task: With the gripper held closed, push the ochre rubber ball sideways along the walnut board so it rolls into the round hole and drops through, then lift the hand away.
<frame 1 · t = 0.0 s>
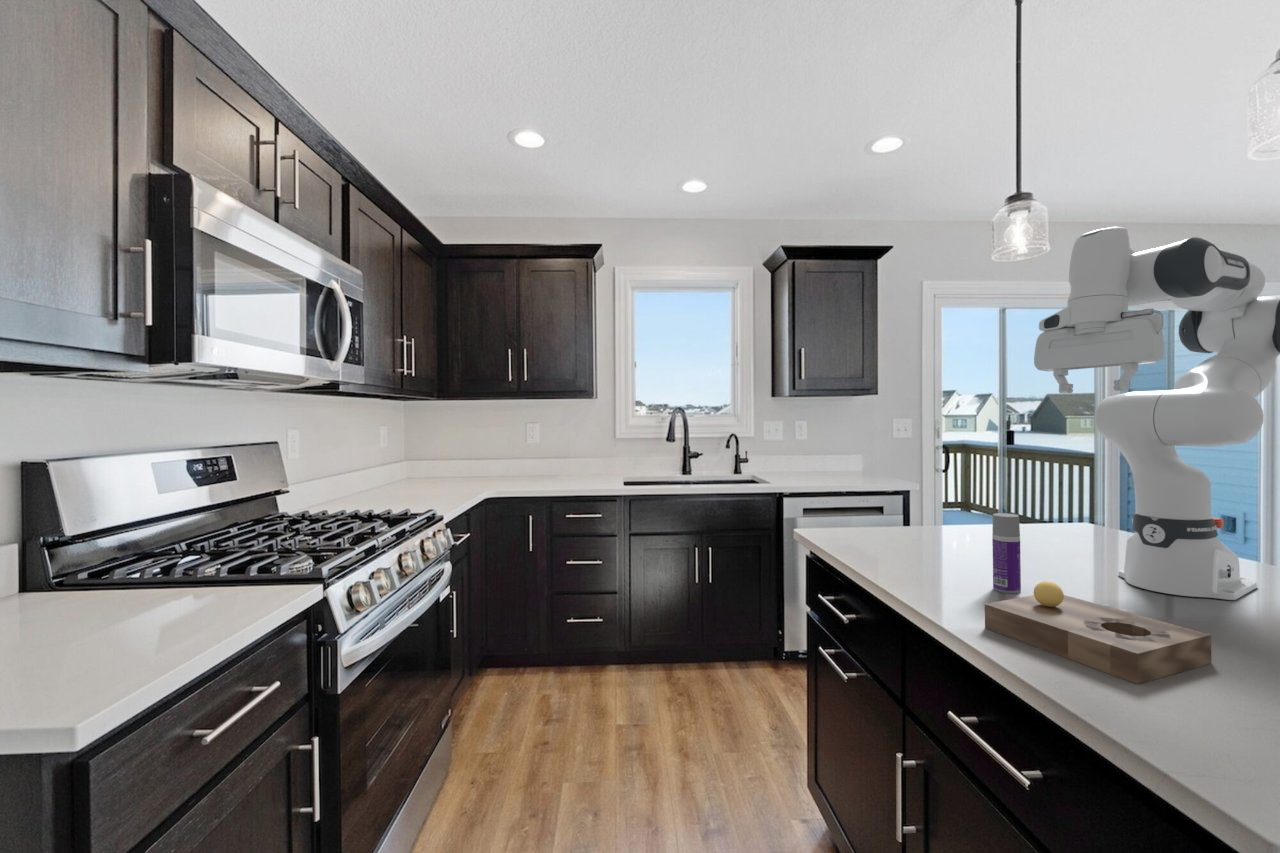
hand: (1092, 391, 107), 39 cm above the worktop, fingers open, 8 cm apart
container: (1006, 591, 116), on the worktop
board: (1088, 644, 89), on the worktop
ball: (1048, 594, 94), point 6 cm above the worktop, touching board
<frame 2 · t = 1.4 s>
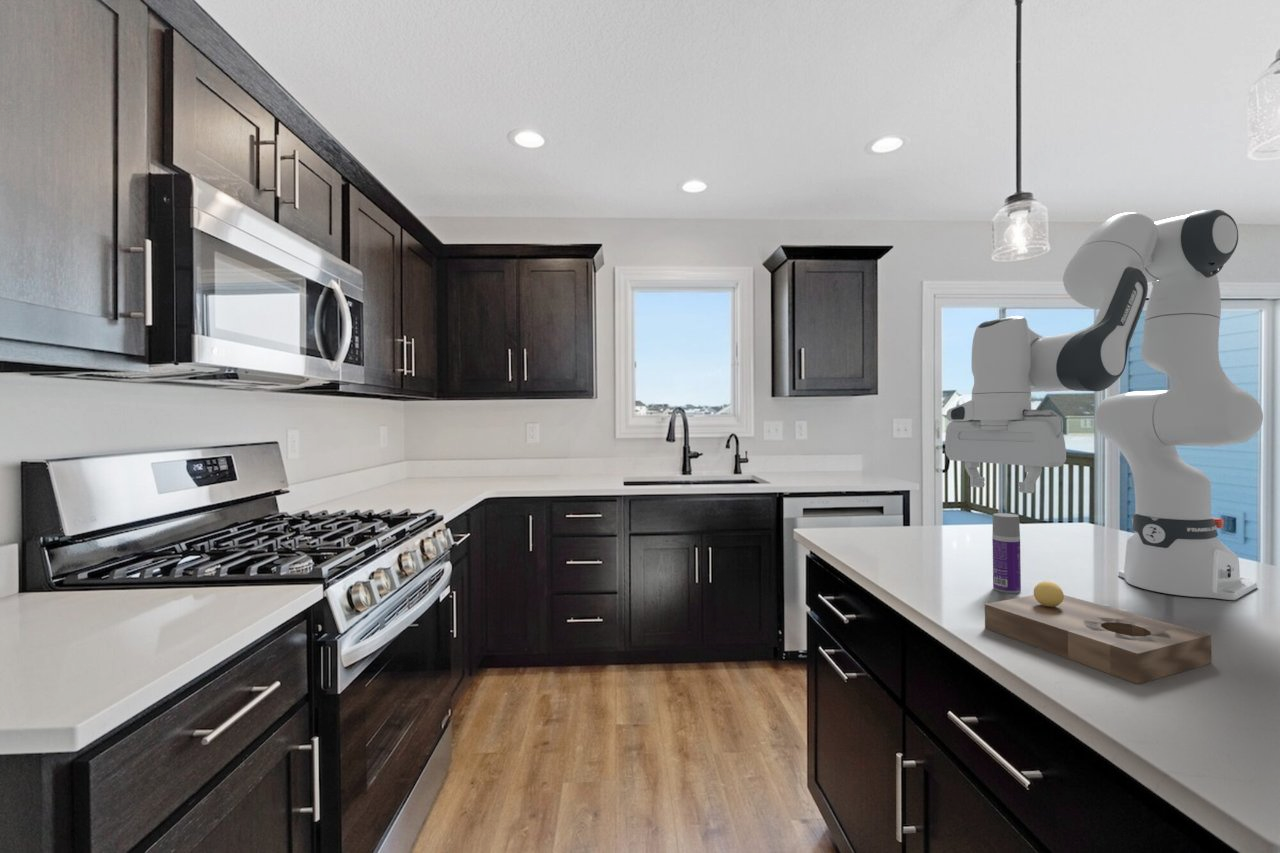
hand: (1001, 489, 101), 22 cm above the worktop, fingers open, 8 cm apart
nothing on the worktop moved.
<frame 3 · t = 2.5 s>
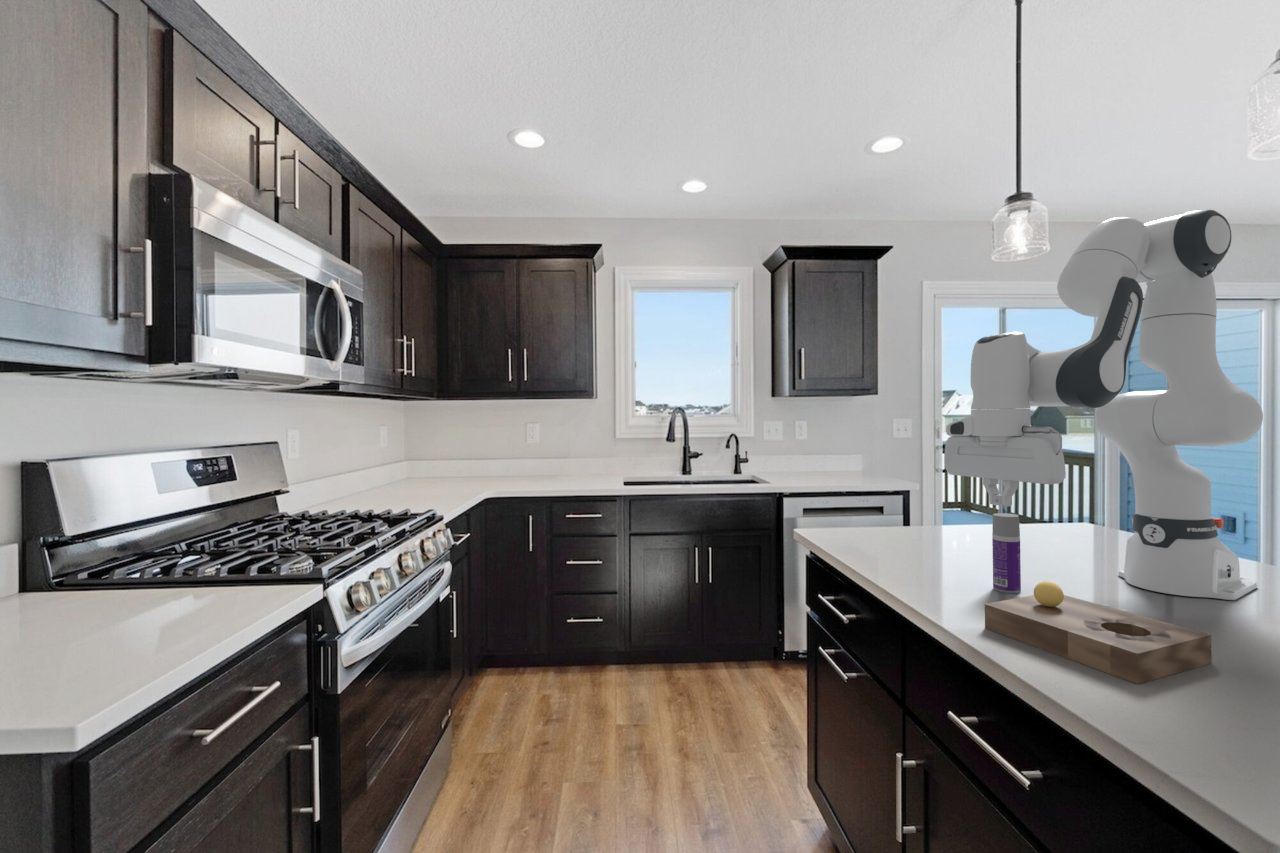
hand: (1000, 505, 101), 19 cm above the worktop, fingers closed
nothing on the worktop moved.
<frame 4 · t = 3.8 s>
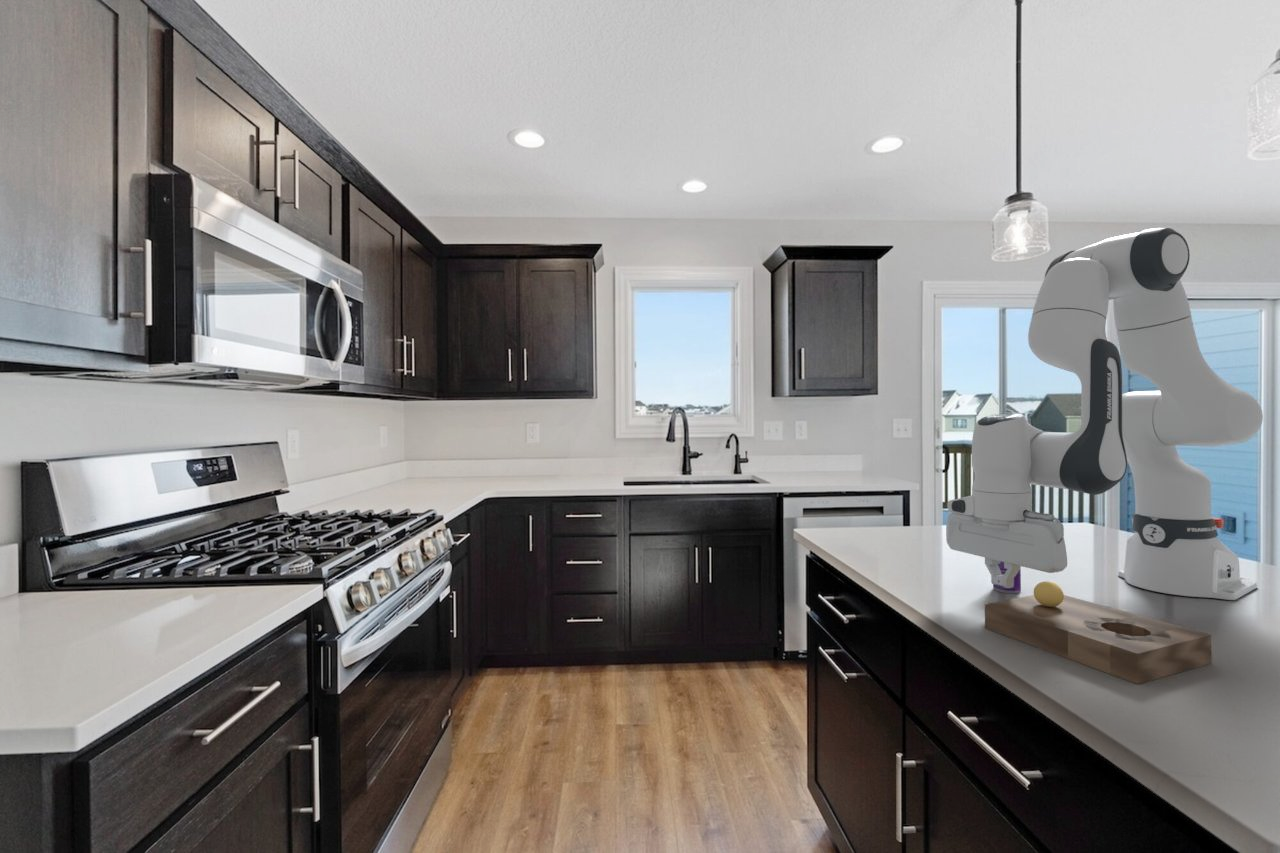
hand: (1002, 585, 102), 5 cm above the worktop, fingers closed
nothing on the worktop moved.
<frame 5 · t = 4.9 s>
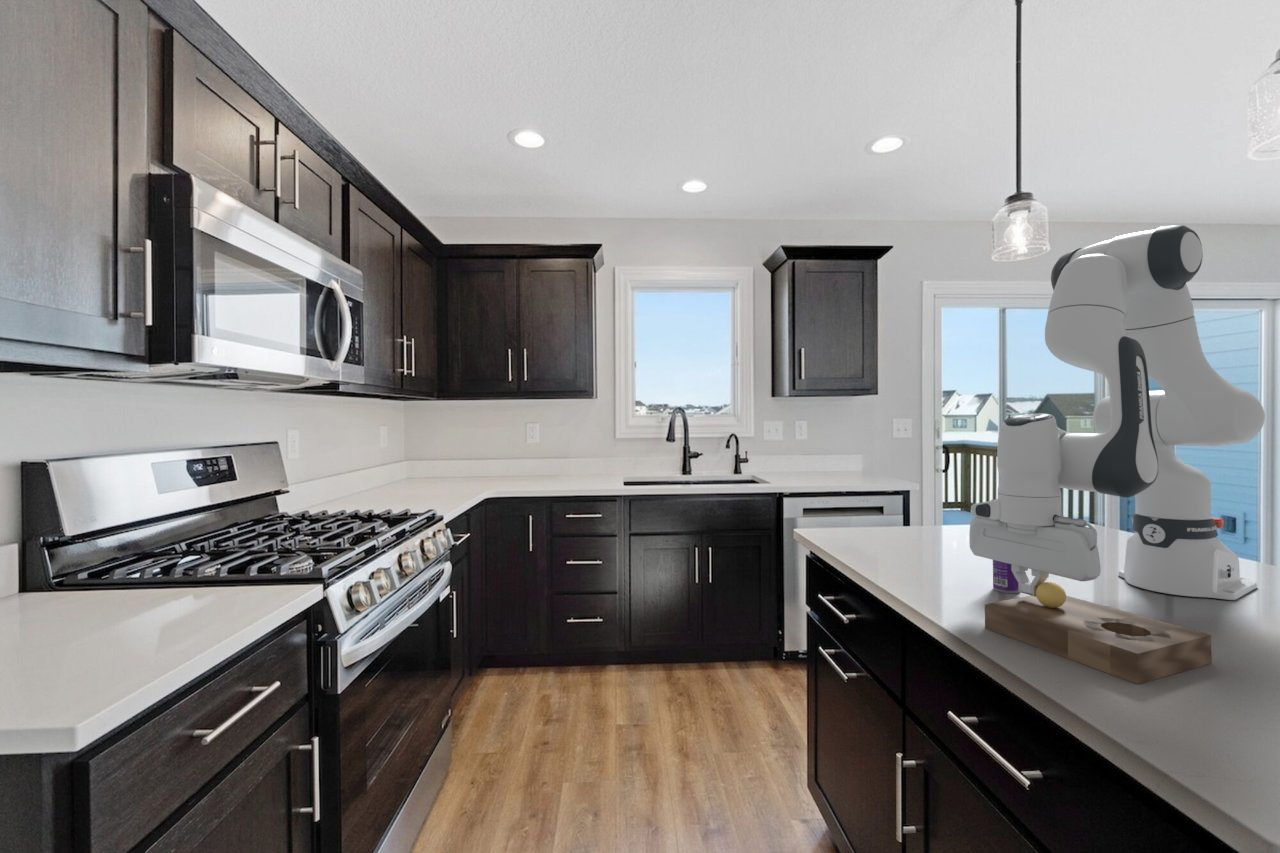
hand: (1030, 594, 97), 5 cm above the worktop, fingers closed
ball: (1050, 594, 94), point 6 cm above the worktop, tilted 11°, touching board, gripper
everything else where it was.
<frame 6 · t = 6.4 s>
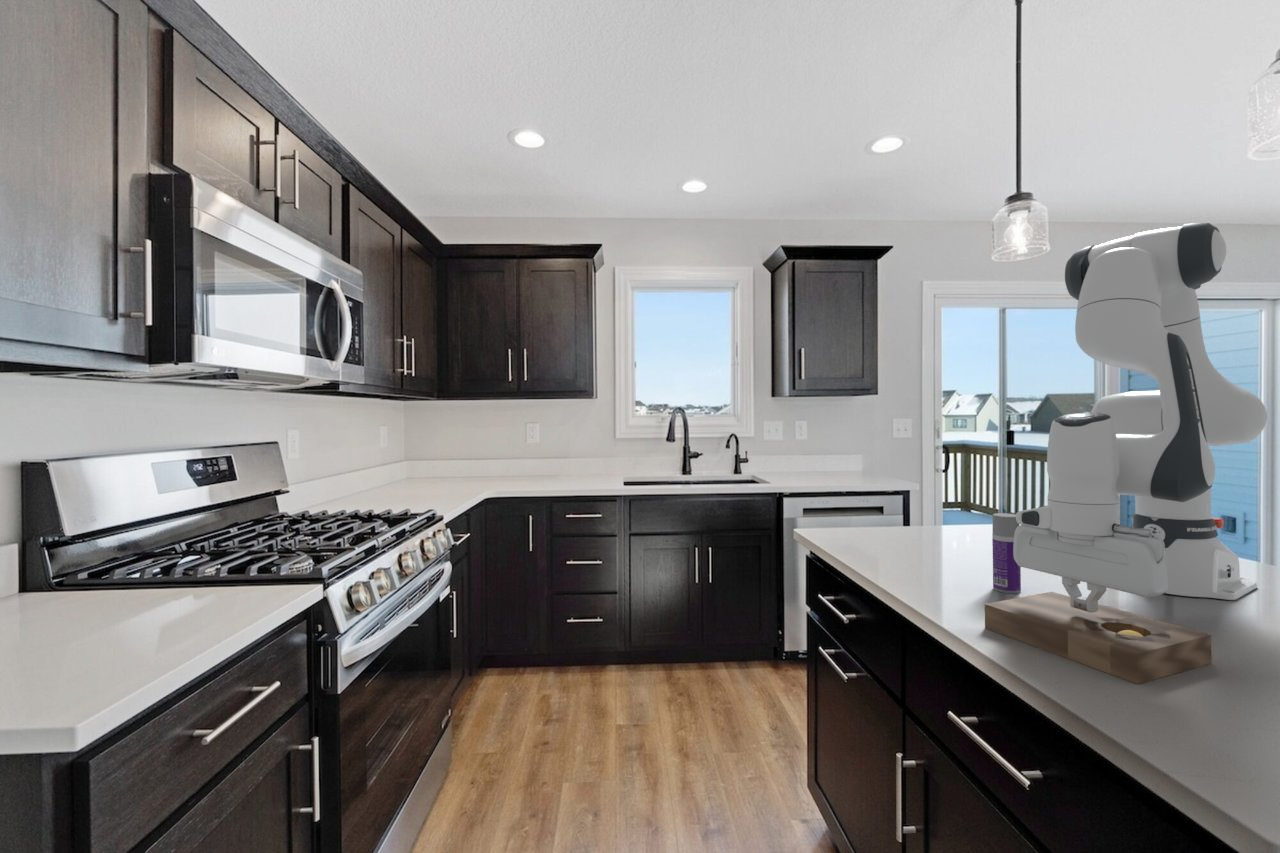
hand: (1084, 609, 89), 5 cm above the worktop, fingers closed
ball: (1131, 644, 83), point 2 cm above the worktop, tilted 54°
everything else where it was.
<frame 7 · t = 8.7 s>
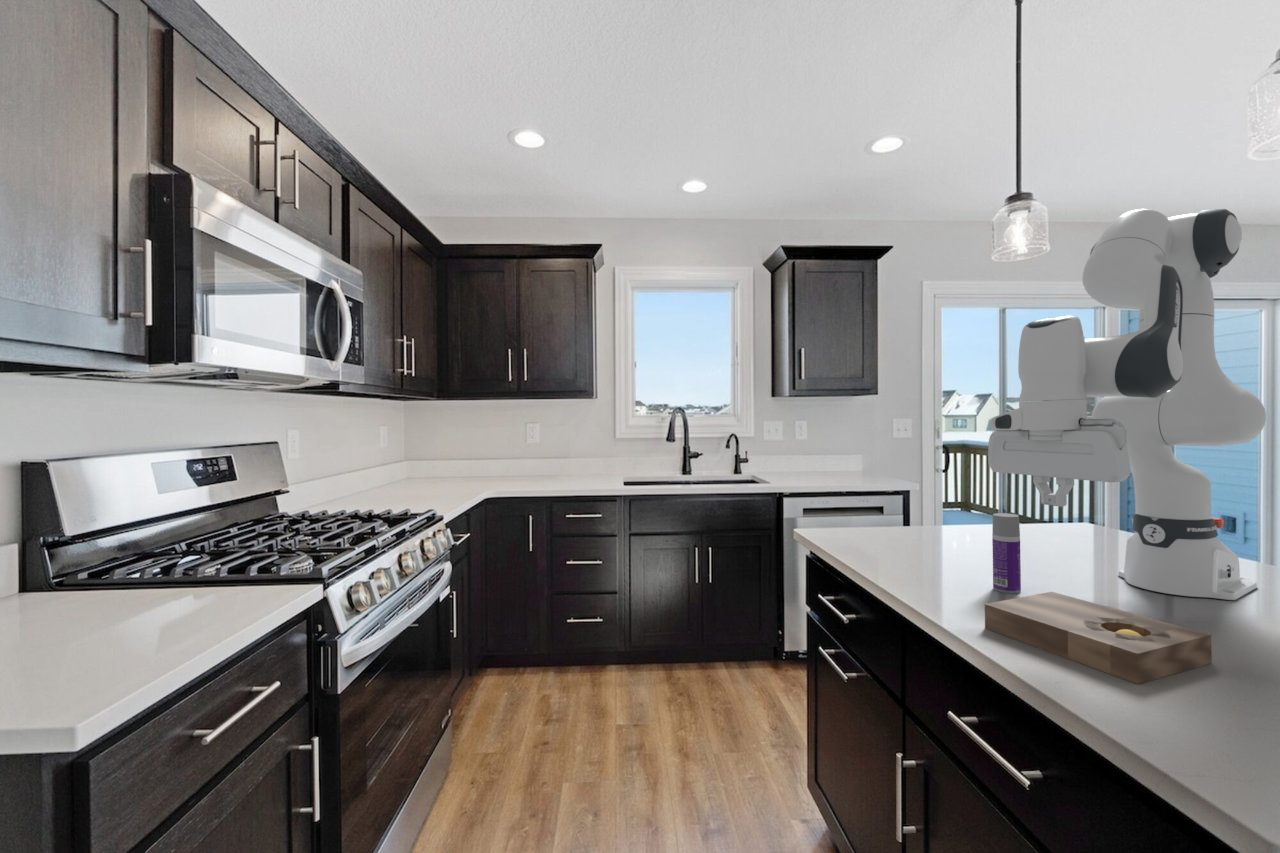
hand: (1053, 505, 93), 21 cm above the worktop, fingers closed
ball: (1128, 644, 84), point 2 cm above the worktop, tilted 45°
everything else where it was.
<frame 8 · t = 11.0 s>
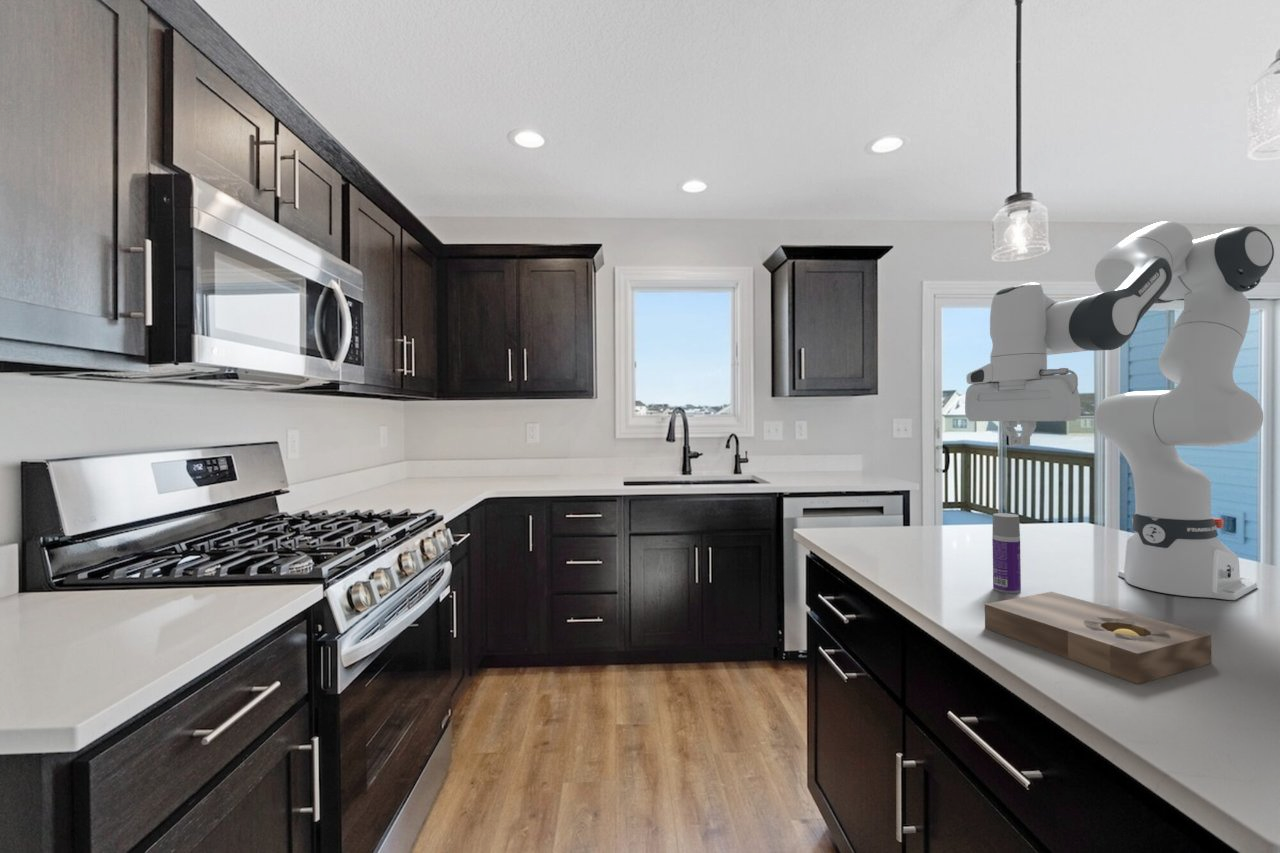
hand: (1019, 446, 109), 29 cm above the worktop, fingers closed
ball: (1126, 643, 84), point 2 cm above the worktop, tilted 37°
everything else where it was.
at the end: ball 0.1 cm from the target spot on the board, point 2.0 cm above the board's base; ball point 2.0 cm above the worktop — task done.
